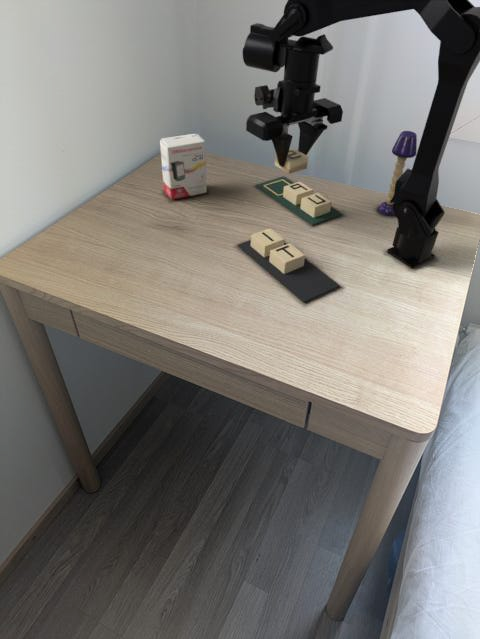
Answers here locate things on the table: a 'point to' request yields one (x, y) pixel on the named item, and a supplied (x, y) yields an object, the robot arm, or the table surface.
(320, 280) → the near word mat
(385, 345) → the table surface
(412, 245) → the robot arm
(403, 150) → the toy lamp
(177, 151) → the ink box
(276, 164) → the tile
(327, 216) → the far word mat
